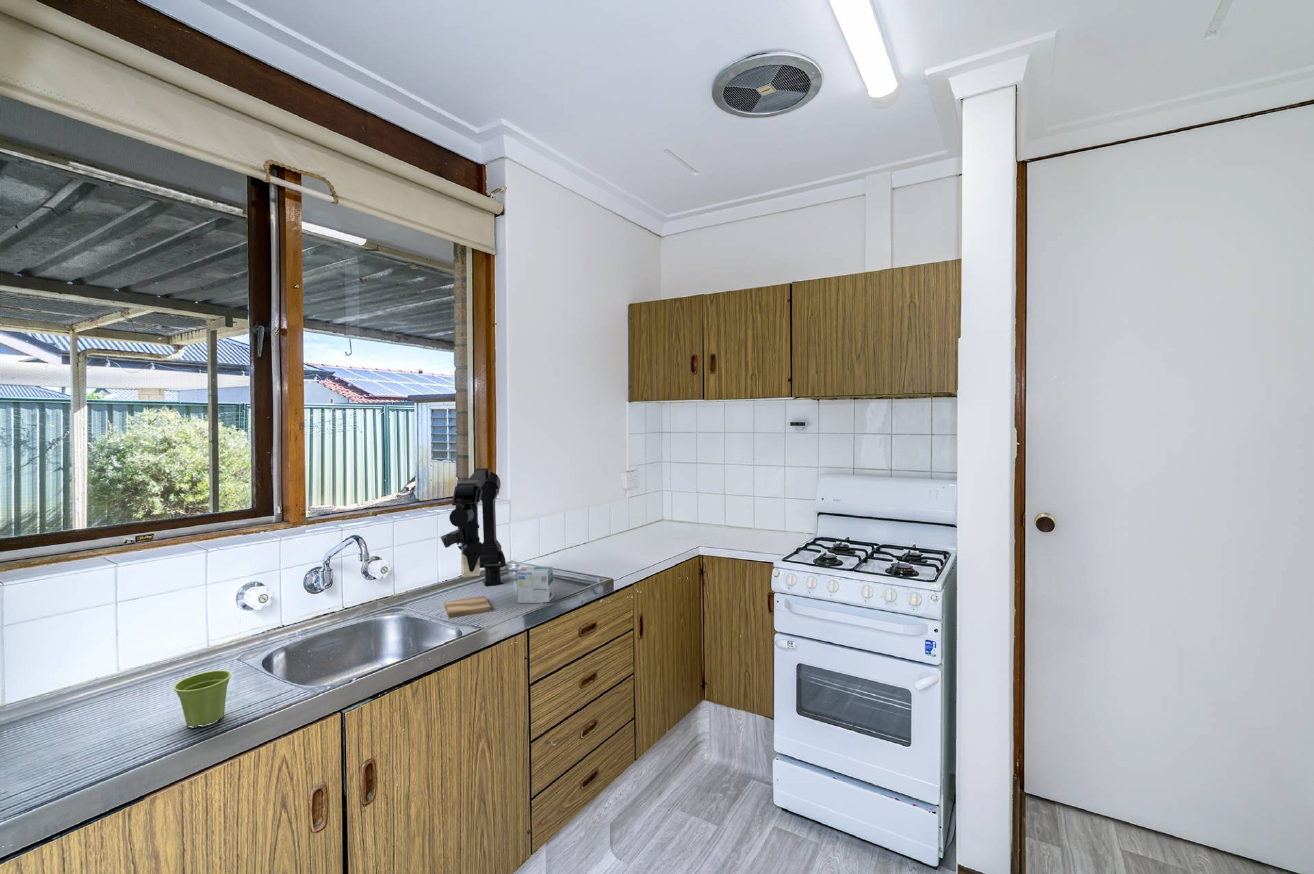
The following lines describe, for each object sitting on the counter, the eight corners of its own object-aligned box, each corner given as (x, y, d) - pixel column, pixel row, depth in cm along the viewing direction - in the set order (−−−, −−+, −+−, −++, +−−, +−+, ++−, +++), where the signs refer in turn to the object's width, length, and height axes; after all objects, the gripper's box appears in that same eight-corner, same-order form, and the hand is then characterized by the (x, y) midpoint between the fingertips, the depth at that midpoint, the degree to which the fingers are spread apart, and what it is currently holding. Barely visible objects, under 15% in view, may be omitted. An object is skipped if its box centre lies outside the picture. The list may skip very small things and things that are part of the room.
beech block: (461, 573, 190) (460, 552, 190) (477, 571, 193) (476, 550, 192) (463, 577, 186) (462, 555, 186) (479, 575, 188) (479, 553, 188)
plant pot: (187, 738, 114) (185, 694, 114) (167, 726, 119) (165, 684, 119) (241, 717, 122) (239, 676, 122) (221, 706, 127) (219, 666, 127)
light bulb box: (554, 597, 199) (553, 565, 199) (549, 603, 192) (548, 570, 192) (523, 597, 200) (522, 565, 199) (517, 603, 193) (516, 571, 193)
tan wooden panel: (444, 607, 192) (444, 601, 192) (485, 601, 198) (485, 595, 197) (448, 620, 180) (448, 613, 180) (492, 612, 186) (491, 606, 186)
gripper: (439, 519, 194) (440, 566, 194) (445, 528, 177) (446, 579, 177) (474, 516, 199) (475, 562, 199) (483, 524, 182) (484, 575, 182)
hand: (470, 569), depth 189 cm, fingers closed on beech block, 5 cm apart
